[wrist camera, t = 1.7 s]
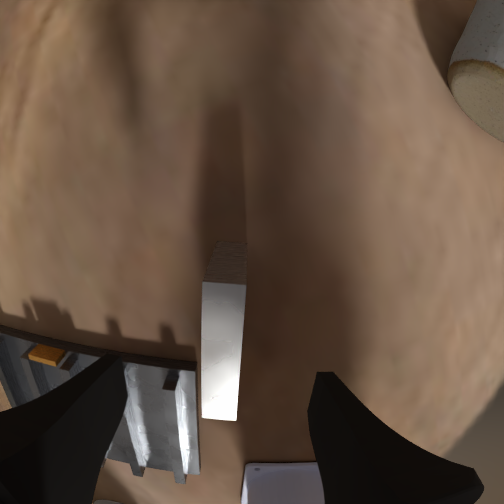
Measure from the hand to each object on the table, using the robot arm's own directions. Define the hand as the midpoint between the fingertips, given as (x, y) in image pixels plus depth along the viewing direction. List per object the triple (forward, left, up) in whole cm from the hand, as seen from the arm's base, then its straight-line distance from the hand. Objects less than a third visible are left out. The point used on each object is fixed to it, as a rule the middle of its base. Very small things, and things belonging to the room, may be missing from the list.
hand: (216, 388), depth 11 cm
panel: (0, 0, -8) cm, 8 cm away
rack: (+10, +11, -8) cm, 17 cm away
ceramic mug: (-16, -16, -8) cm, 24 cm away
